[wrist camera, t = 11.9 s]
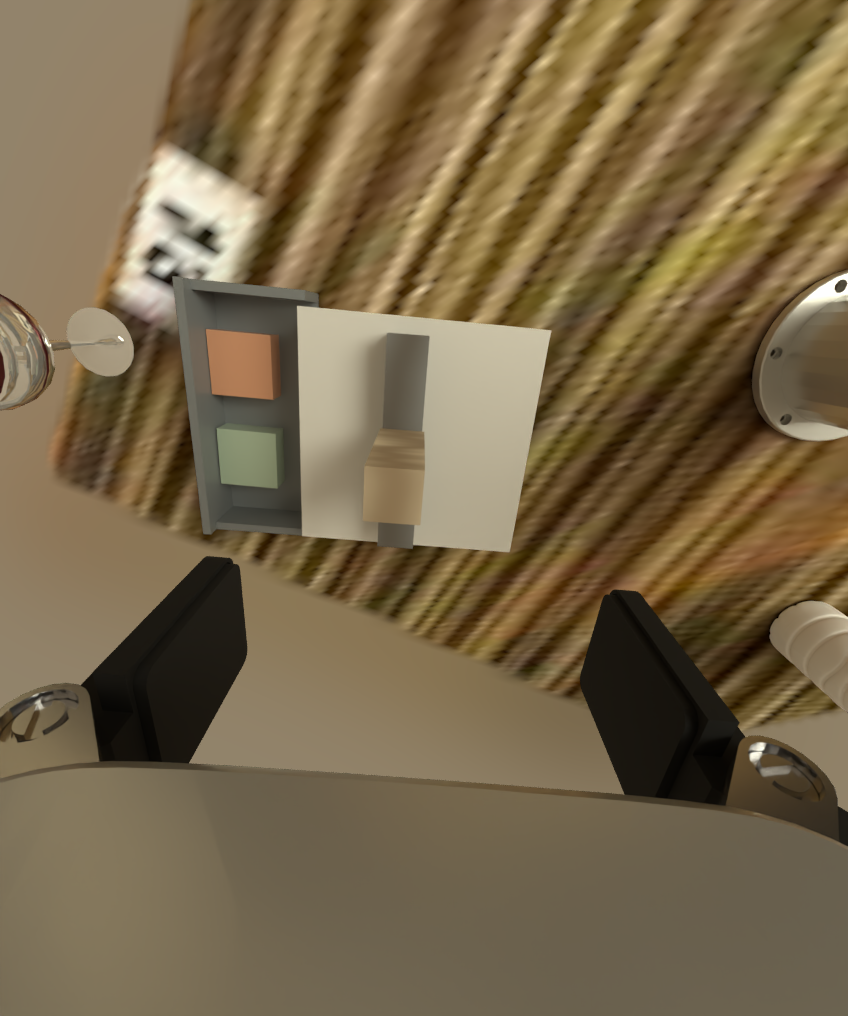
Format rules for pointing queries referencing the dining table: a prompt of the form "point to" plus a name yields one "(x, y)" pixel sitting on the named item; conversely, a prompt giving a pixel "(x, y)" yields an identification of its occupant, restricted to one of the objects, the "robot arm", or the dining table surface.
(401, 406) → the scraper
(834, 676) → the water bottle
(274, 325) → the tray
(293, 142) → the dining table surface
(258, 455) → the green tile
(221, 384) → the terracotta tile
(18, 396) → the wineglass
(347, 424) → the white flat square block
